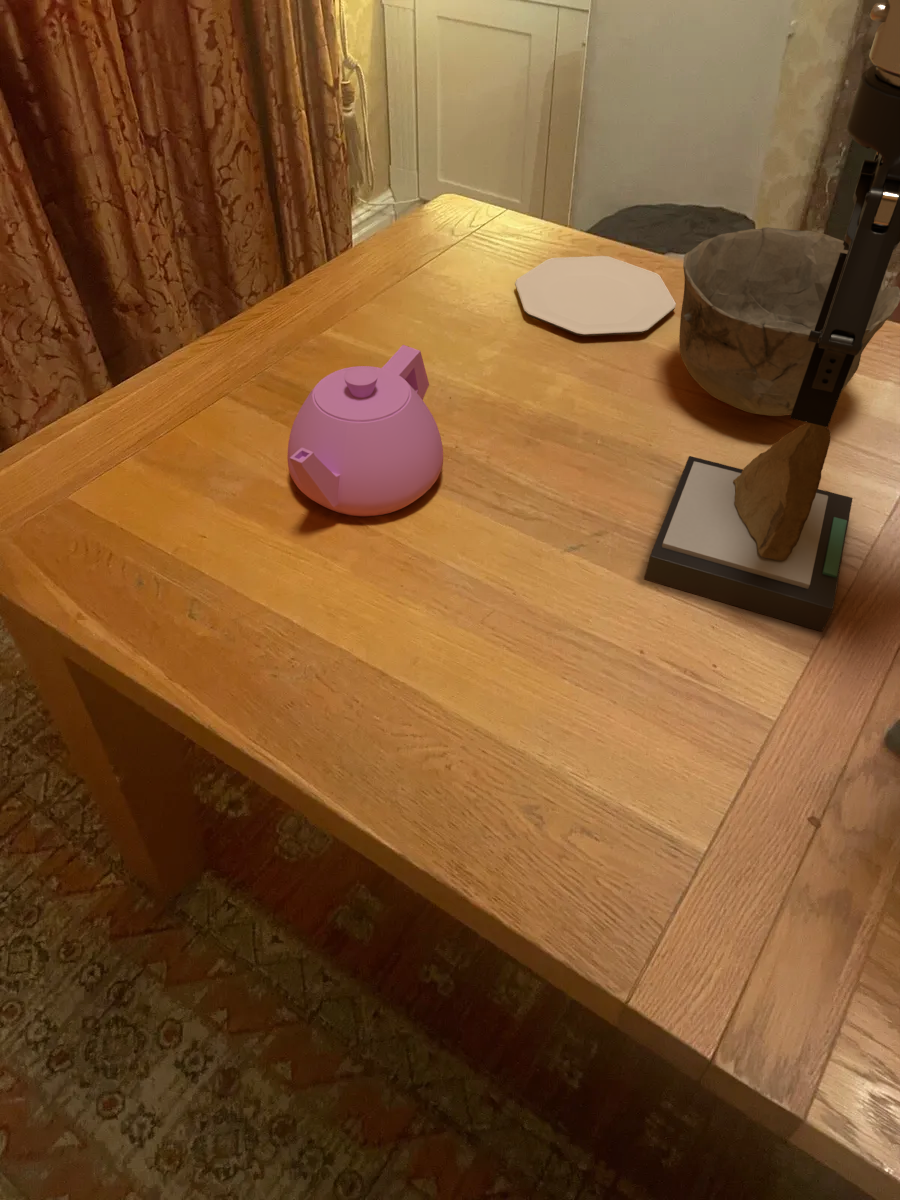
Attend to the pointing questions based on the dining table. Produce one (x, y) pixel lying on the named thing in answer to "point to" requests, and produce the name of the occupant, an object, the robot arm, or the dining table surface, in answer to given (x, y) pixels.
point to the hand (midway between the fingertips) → (820, 374)
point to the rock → (782, 489)
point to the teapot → (367, 438)
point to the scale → (747, 550)
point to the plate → (594, 296)
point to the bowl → (761, 314)
